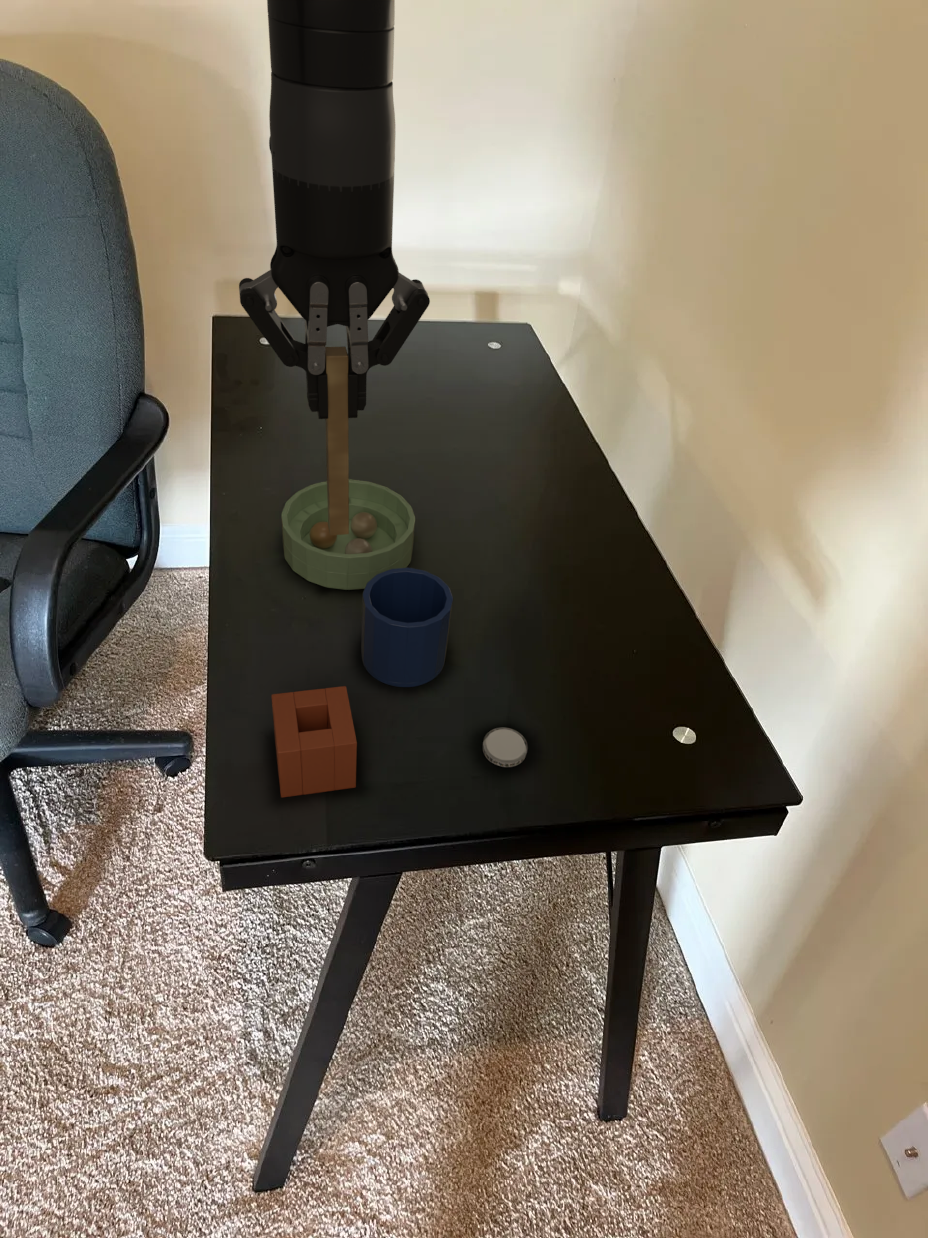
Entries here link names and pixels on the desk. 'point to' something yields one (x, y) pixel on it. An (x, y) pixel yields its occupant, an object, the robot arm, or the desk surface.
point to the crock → (405, 626)
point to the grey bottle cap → (505, 747)
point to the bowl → (347, 535)
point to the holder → (314, 741)
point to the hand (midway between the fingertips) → (337, 412)
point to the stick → (337, 440)
